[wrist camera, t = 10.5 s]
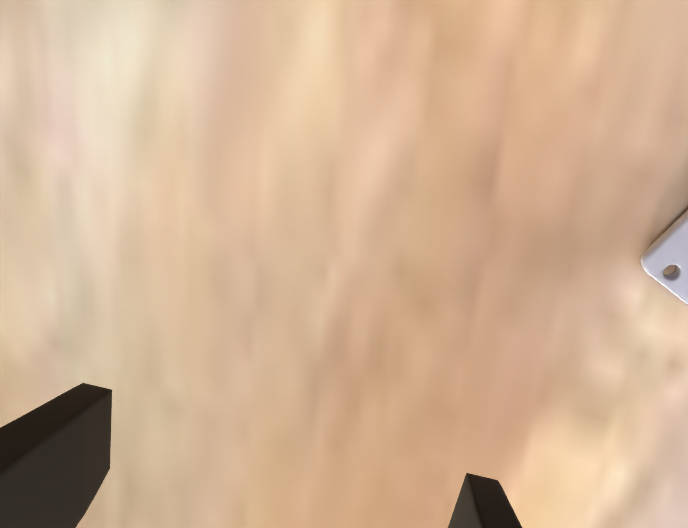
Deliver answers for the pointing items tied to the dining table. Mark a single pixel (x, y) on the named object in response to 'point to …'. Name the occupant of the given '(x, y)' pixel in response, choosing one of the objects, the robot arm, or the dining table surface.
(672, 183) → the dining table surface
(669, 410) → the dining table surface
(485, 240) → the dining table surface
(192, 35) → the dining table surface
